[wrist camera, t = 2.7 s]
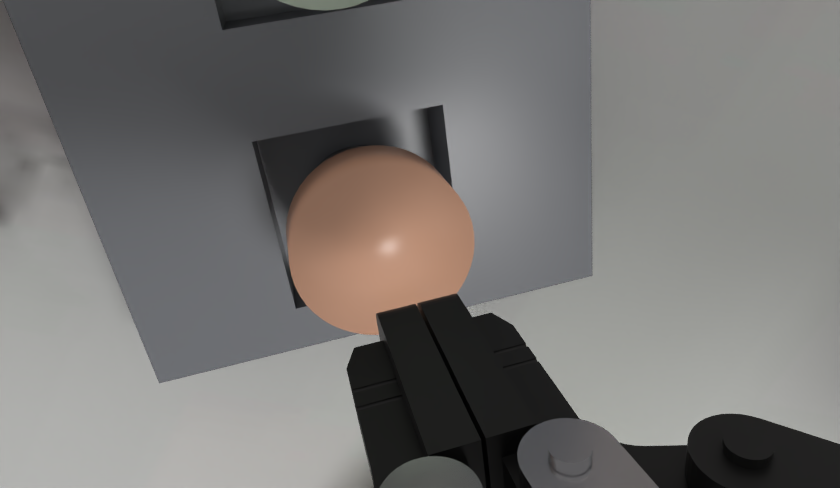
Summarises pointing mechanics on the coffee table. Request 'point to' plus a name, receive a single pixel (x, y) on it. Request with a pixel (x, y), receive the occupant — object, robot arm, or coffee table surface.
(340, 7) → the sage button
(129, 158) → the console
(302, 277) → the terracotta button
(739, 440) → the robot arm
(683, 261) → the coffee table surface
